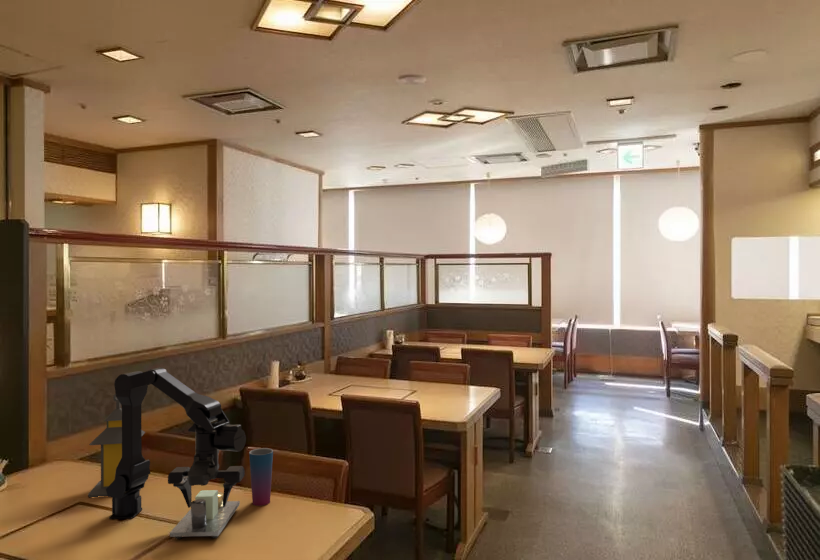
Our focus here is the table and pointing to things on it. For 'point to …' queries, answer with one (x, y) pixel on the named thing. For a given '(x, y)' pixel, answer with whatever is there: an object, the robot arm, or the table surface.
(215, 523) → the grey flat plate
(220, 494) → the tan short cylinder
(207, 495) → the green block
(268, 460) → the cup
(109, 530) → the table surface
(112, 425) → the lantern
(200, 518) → the black peg
